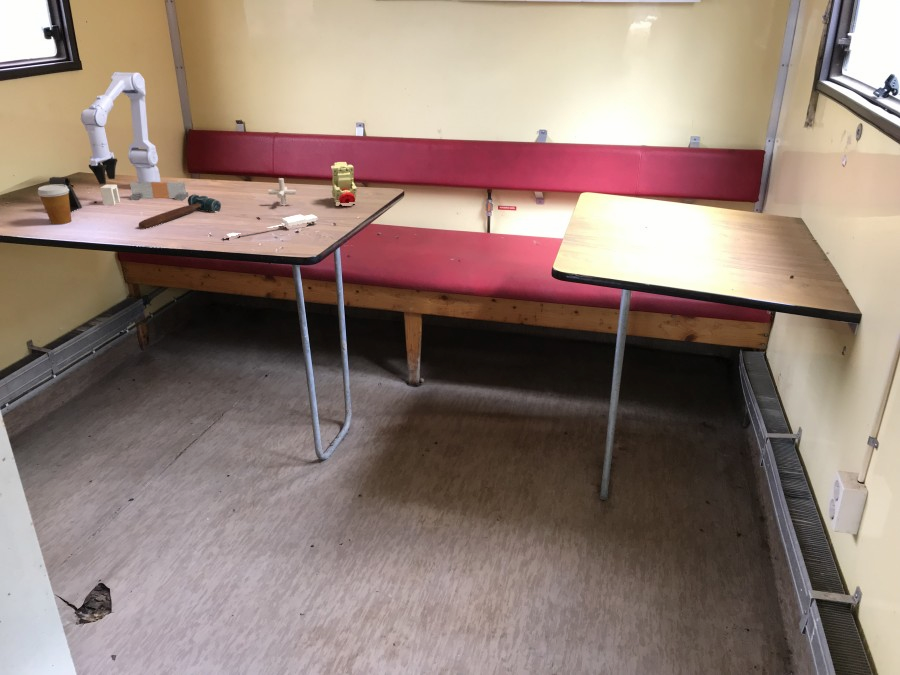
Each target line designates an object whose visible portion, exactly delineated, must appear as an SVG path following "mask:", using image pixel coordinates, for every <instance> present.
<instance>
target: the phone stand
mask: <svg viewBox="0 0 900 675" xmlns="http://www.w3.org/2000/svg"><path fill="white" fill-rule="evenodd" d="M48 181H49V185H54V184H63V185H66V186H67V188H68V189H69V203H70V212H71V213H73V212H75V211H74V210H76V211H78V210H80V209H82V208H83V205H82V203H81V202H80V200H79V198H78V196H77V194H76V193H75V191H74V188H73V186H72V184H71V179H70V178H69V177H61V176H52V177H49V180H48ZM77 209H78V210H77ZM72 211H73V212H72Z"/></svg>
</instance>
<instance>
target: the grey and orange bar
mask: <svg viewBox="0 0 900 675" xmlns="http://www.w3.org/2000/svg"><path fill="white" fill-rule="evenodd" d="M129 185H130V188H131V189H130V191H131V195H130V200H131V201H140V199H153V198H175V199H174V200H175V201H184V200H185V199H187V198H189V191H187V190H186V185H185V181H161V182H138V181H131V182H130V183H129ZM186 197H187V198H186Z"/></svg>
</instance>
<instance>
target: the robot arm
mask: <svg viewBox="0 0 900 675" xmlns="http://www.w3.org/2000/svg"><path fill="white" fill-rule="evenodd" d="M145 80H146V79H144V77H143V75H142V74H140V72H121V71H115V72H114V73H113V74H112V75H111V77H110V84H109V85H108V88H107V89H106V90H105V93H103V94H100V95H97V96H96V98H95V99H94V101H93V103H91V105H90V106H89V108H86V109H84V110H83V111H82V112H81V114H80V115H81V116H80V121H81V123H82V124H83V126H84V129H85V131H86V132H87V135H88V140H89V144H90V148H91V153H92V155H89V156H90V157H89V158H90V160H89V162H90V164H88V168H89V169H90V170H91V171H92V173H93V174H94V176H95V178H96V179H97V182H98V184H99V185H106V183H107V179H106V178H108V179H109V180H115V179H116V167H117V163H118V158H115V155H114V154H115V153H114V152H113V151H110V147H109V143H108V138H107V134H106V129H105V125H107V121H108V120H107V118H108V115H109V113H110V112H111V110H112V109H113V108H114V101H115V100H116V99H117V98H118V97H119V95H120V94H121V93H122V94H124V95H126V96H127V97H128V98H129V100H130V110H131V111H130V112H131V124H132V133H133V141H132V142H131V143H130V144H129V145H128V153H127V156H128V161H129V162H130V164H131V165H132V166H133V167H135V171H136V172H135V173H136V177H137V182H162V180H161V175H160V169H159V168H158V166H157V163H158V161H159V156H158V152H157V149H156V148H157V146H156V145H154V143H151V141H150V140H149V129H148V120H147V119H148V118H147V116H148V115H147V104H146V94H147V92H146V85H145V84H146V82H145Z"/></svg>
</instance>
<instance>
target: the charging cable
mask: <svg viewBox="0 0 900 675" xmlns="http://www.w3.org/2000/svg"><path fill="white" fill-rule="evenodd" d="M316 220H318V221H319V218H318V216H316V215H314V214H309V215H308V214H307V215H304V214H303V215H302V214H295V215H291V216H287V217H282V218H281V223H280V224H278V225H273V226H269V227H267V228H273V227H277V228H279V227H278V226H286V225H287V226H292V225H297V224H302V223H307V222H311V221H316ZM273 229H274V228H273ZM238 234H240V233H239V232H237V233H236V232H230V233H226V234H225V235H227V236H228V237H231V236H236V235H238Z"/></svg>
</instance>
